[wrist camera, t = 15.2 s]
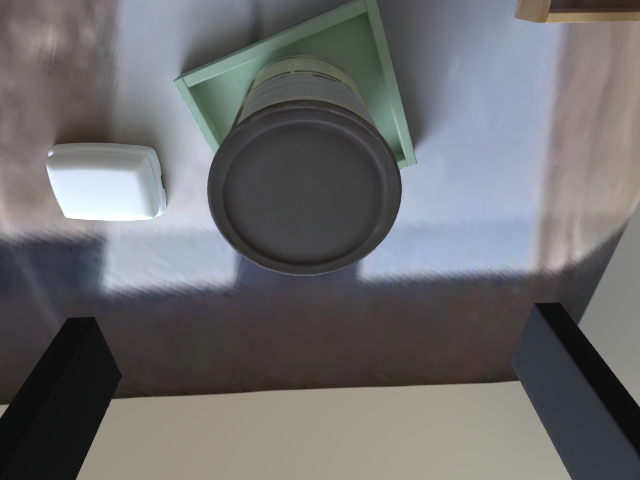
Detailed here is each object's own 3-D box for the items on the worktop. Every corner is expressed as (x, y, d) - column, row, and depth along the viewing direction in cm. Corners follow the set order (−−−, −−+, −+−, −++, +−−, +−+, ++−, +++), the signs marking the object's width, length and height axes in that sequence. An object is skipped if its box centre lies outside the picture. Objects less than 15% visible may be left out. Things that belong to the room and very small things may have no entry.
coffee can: (377, 157, 35) (416, 251, 23) (267, 190, 36) (252, 294, 24) (348, 32, 29) (380, 72, 17) (219, 76, 30) (169, 141, 19)
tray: (370, -8, 28) (375, -6, 27) (411, 154, 35) (417, 163, 34) (179, 75, 31) (172, 81, 29) (253, 210, 38) (251, 221, 36)
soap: (156, 144, 34) (146, 157, 31) (170, 213, 38) (161, 229, 35) (47, 141, 33) (27, 154, 31) (72, 211, 37) (56, 228, 35)
